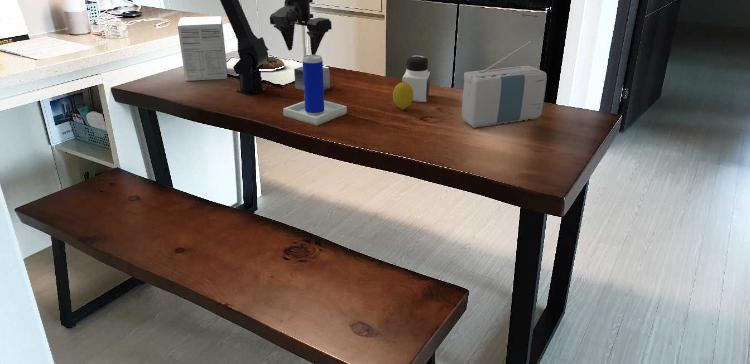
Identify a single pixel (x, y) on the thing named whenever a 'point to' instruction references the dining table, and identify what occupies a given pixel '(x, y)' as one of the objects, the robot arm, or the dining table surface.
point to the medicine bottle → (418, 77)
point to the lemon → (402, 95)
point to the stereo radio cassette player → (503, 94)
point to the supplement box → (202, 48)
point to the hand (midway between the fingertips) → (301, 52)
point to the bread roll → (273, 63)
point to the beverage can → (313, 84)
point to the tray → (328, 114)
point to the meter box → (300, 83)
